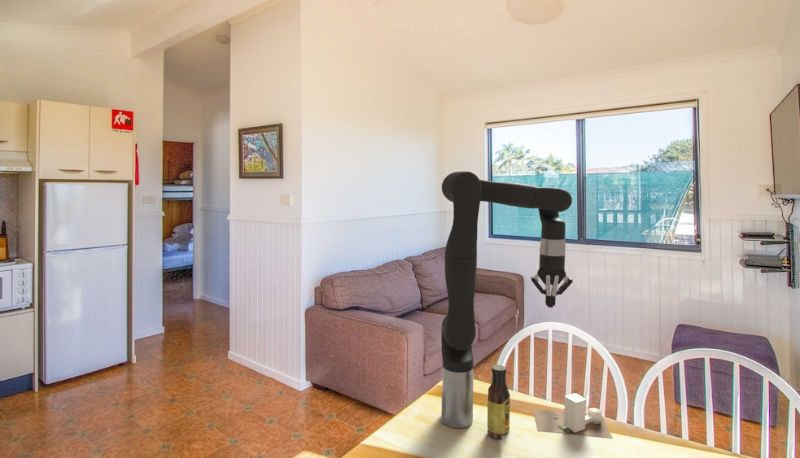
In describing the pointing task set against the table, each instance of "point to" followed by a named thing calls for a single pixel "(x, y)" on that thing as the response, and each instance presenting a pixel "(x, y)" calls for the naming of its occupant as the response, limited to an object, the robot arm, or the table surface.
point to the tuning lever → (579, 413)
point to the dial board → (555, 424)
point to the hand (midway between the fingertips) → (550, 306)
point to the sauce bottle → (498, 404)
